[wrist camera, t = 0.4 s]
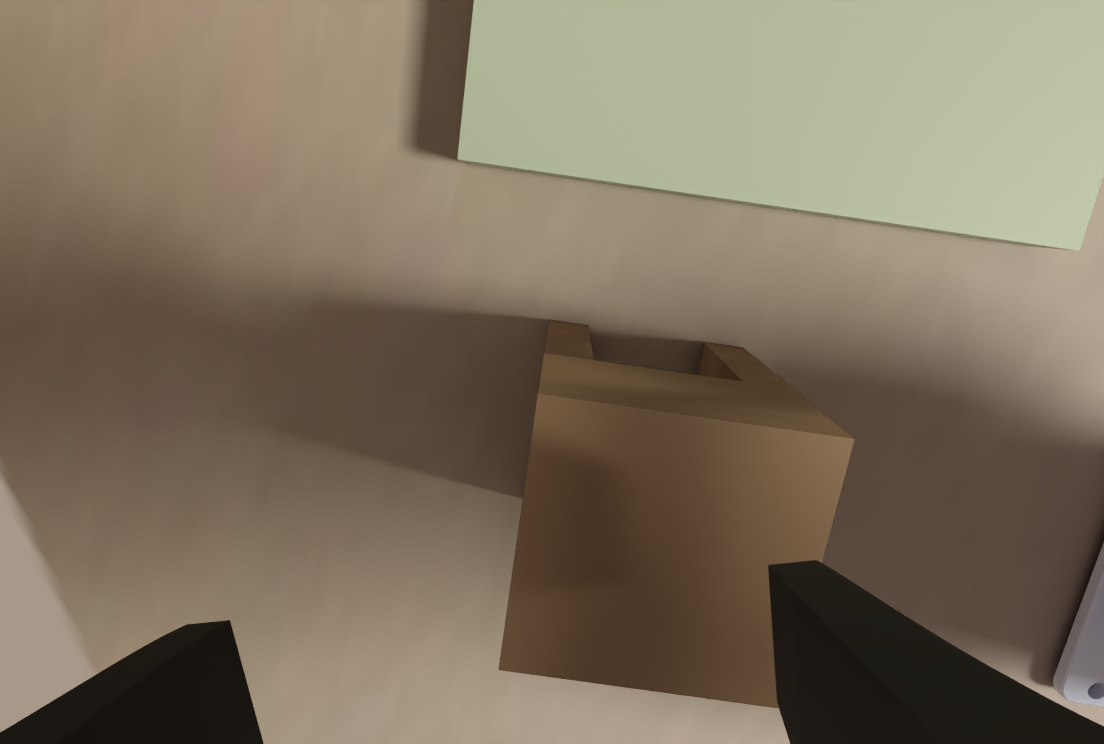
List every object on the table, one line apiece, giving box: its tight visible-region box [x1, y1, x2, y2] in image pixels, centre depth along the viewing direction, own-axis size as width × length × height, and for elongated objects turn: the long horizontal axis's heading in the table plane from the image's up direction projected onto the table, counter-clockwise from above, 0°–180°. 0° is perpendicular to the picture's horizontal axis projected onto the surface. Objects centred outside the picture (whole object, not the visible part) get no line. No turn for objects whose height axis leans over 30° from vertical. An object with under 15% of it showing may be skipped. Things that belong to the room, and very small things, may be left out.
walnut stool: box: [499, 320, 855, 708], centre depth 15 cm, size 5×5×7 cm
